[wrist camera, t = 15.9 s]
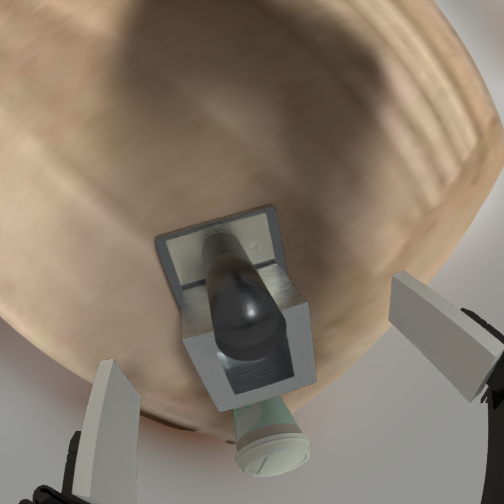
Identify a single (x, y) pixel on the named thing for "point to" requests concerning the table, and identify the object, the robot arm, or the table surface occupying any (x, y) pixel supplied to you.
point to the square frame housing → (199, 317)
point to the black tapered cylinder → (239, 302)
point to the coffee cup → (268, 439)
